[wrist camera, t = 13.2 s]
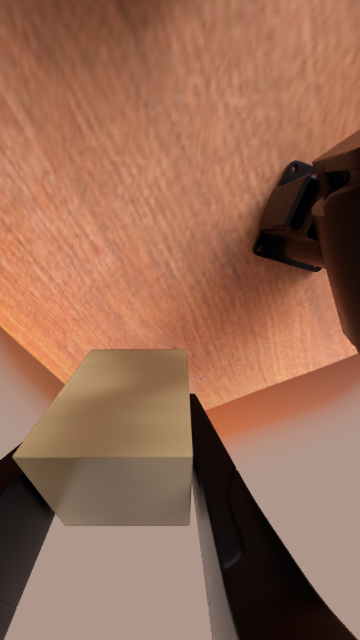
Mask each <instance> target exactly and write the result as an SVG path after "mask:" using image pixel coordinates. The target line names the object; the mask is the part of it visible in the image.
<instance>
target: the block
mask: <svg viewBox="0 0 360 640" xmlns="http://www.w3.org/2000/svg"><path fill="white" fill-rule="evenodd" d="M12 458H13V459H14V460H15V462H16V463H17V464H18V466H19V467H20V468H21V469H22V471H23V472H24V473H25V475H26V476H27V477H28V479H29V480H30V481H31V482H32V484H33V485H34V486H35V488H36V489H37V490H38V492H39V493H40V494H41V496H42V497H43V498H44V499H45V501H46V502H47V503H48V505H49V506H50V507H51V509H52V510H53V511H54V512H55V514H56V515H57V516H58V518H59V519H60V520H61V522H62V523H63V524H64V525H65V526H188V525H189V524H190V504H191V485H192V463H193V449H192V431H191V413H190V396H189V378H188V360H187V349H92V350H91V351H90V352H89V353H88V355H87V356H86V357H85V359H84V360H83V361H82V363H81V364H80V365H79V367H78V368H77V369H76V371H75V372H74V373H73V375H72V376H71V378H70V379H69V380H68V382H67V383H66V384H65V386H64V387H63V389H62V390H61V391H60V393H59V394H58V395H57V396H56V398H55V399H54V401H53V402H52V403H51V405H50V406H49V407H48V409H47V410H46V411H45V413H44V414H43V415H42V417H41V418H40V420H39V421H38V422H37V424H36V425H35V426H34V428H33V429H32V430H31V432H30V433H29V434H28V436H27V437H26V439H25V440H24V441H23V442H22V444H21V445H20V447H19V448H18V449H17V451H16V452H15V453H14V455H13V457H12Z"/></svg>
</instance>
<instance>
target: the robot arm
mask: <svg viewBox="0 0 360 640" xmlns="http://www.w3.org/2000/svg"><path fill="white" fill-rule="evenodd" d="M312 164H313V166H311V165H309V164H306V163H303V162H301V161H296V160H295V161H293V162H291V163H290V164H288V165H287V167H286V168H285V171H284V173H283V176H282V178H281V180H280V183H279V185H278V188H276V189H274V190H273V192H272V194H271V197H270V199H269V202H268V204H267V207H266V209H265V211H264V214H263V216H262V219H261V221H260V224H259V228H260V231H259V234H258V236H257V239H256V241H255V243H254V246H253V249H252V251H253V253H254V254H255V255H258V256H261V257H265V258H268V259H272V260H275V261H278V262H282V263H285V264H289V265H292V266H296V267H299V268H302V269H306V270H309V271H313V272H318V271H320V270H321V269H322V268H324V269H326V271H327V275H328V278H329V282H330V286H331V289H332V293H333V297H334V301H335V304H336V308H337V312H338V316H339V319H340V323H341V327H342V331H343V333H344V334H345V335H346V337H347V338H348V339H349V341H350V342H351V343H352V344H353V345H354V346H355V347H356V349H357V352H358V353H359V354H360V130H358V131H357V132H355V133H354V134H352V135H351V136H350V137H348V138H347V139H345V140H344V141H342V142H341V143H339V144H338V145H336V146H335V147H333V148H332V149H330V150H329V151H327V152H326V153H324V154H323V155H322V156H320V157H319V158H317V159H316V160H314V161H313V162H312ZM292 167H294V168H295V172H294V174H292V173H291V168H292ZM259 246H261V250H260V251H259V252H257V248H258V247H259ZM314 266H316V268H314ZM189 396H190V413H191V431H192V449H193V463H192V486H193V494H194V501H195V509H196V517H197V524H198V532H199V540H200V547H201V555H202V562H203V570H204V578H205V586H206V593H207V601H208V606H209V616H210V624H211V632H212V640H358V639H357V638H356V637H355V636H354V635H353V634H352V633H351V632H350V631H349V630H348V628H346V626H345V625H344V624H343V623H342V622H341V621H340V620H339V619H338V617H337V616H336V615H335V614H334V613H333V612H332V611H331V609H330V608H329V607H328V606H327V604H326V603H325V602H324V601H323V599H322V598H321V597H320V596H319V594H318V593H317V592H316V590H315V589H314V588H313V586H312V585H311V583H310V582H309V581H308V579H307V578H306V576H305V575H304V573H303V572H302V570H301V569H300V568H299V566H298V564H297V563H296V562H295V560H294V559H293V557H292V556H291V554H290V553H289V551H288V550H287V548H286V547H285V545H284V544H283V542H282V541H281V539H280V538H279V536H278V535H277V533H276V532H275V530H274V529H273V527H272V526H271V524H270V523H269V521H268V520H267V518H266V517H265V515H264V514H263V512H262V511H261V509H260V507H259V506H258V504H257V503H256V501H255V500H254V498H253V496H252V495H251V493H250V491H249V489H248V488H247V486H246V484H245V483H244V481H243V479H242V477H241V475H240V474H239V472H238V471H237V470H236V467H235V465H234V463H233V461H232V460H231V458H230V456H229V454H228V452H227V450H226V449H225V447H224V445H223V443H222V441H221V440H220V438H219V436H218V434H217V432H216V430H215V429H214V427H213V425H212V423H211V421H210V420H209V418H208V416H207V414H206V412H205V410H204V409H203V407H202V405H201V403H200V401H199V400H198V398H197V396H196V395H195V394H189ZM21 444H22V443H21ZM21 444H20V445H21ZM20 445H18V446H17V447H16V448H15V449H13V450H12V451H11V452H10V453H8V454H7V455H6V456H5V457H4V458H2V459H1V460H0V640H4V638H5V636H6V633H7V631H8V628H9V626H10V623H11V621H12V618H13V616H14V614H15V611H16V607H17V606H18V603H19V601H20V599H21V596H22V594H23V591H24V589H25V586H26V583H27V582H28V579H29V577H30V574H31V572H32V569H33V567H34V564H35V562H36V559H37V557H38V554H39V552H40V550H41V547H42V545H43V542H44V540H45V538H46V535H47V533H48V530H49V528H50V525H51V523H52V520H53V518H54V516H55V512H54V511H53V510H52V509H51V507H50V506H49V505H48V503H47V502H46V501H45V499H44V498H43V497H42V496H41V494H40V493H39V492H38V490H37V489H36V488H35V486H34V485H33V484H32V482H31V481H30V480H29V479H28V477H27V476H26V475H25V473H24V472H23V471H22V469H21V468H20V467H19V466H18V464H17V463H16V462H15V460H14V459H13V458H12V457H13V455H14V453H15V452H16V451H17V449H18V448H19V447H20Z"/></svg>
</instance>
